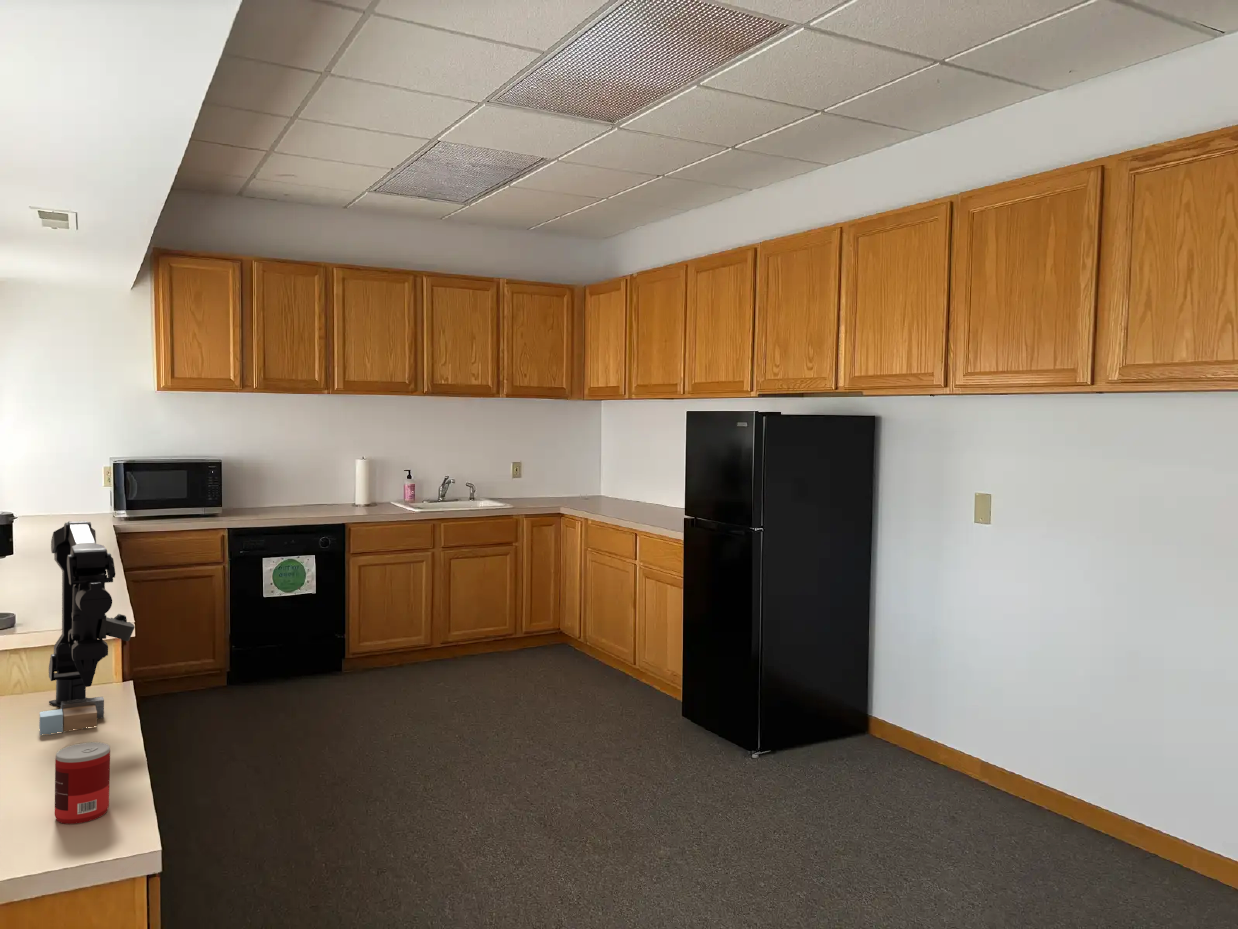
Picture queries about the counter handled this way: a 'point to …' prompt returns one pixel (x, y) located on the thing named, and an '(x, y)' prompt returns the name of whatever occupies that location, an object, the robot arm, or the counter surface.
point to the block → (51, 721)
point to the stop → (86, 704)
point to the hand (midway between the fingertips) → (86, 682)
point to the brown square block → (79, 717)
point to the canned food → (82, 782)
